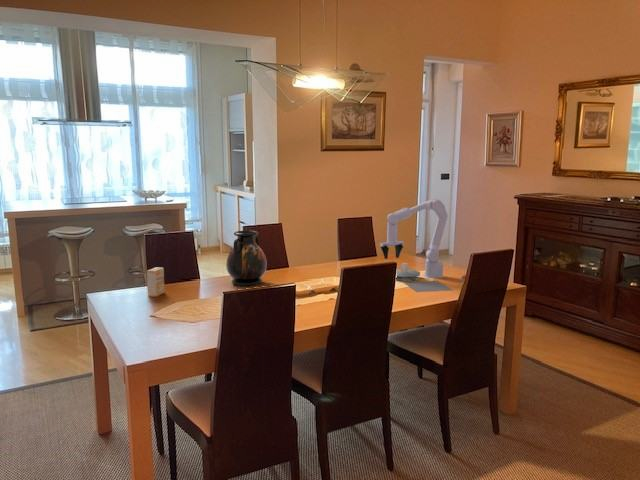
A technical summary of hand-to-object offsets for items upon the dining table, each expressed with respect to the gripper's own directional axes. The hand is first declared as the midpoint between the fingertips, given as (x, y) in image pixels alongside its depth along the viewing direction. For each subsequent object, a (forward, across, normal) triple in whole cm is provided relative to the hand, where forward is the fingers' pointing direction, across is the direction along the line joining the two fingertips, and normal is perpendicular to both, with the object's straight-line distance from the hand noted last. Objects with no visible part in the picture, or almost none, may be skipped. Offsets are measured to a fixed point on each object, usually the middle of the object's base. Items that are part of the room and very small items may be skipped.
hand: (391, 258), depth 292 cm
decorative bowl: (+11, +3, -9) cm, 15 cm away
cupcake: (+11, +23, -39) cm, 46 cm away
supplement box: (+11, -127, +15) cm, 129 cm away
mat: (+10, +4, -29) cm, 31 cm away
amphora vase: (+11, -80, +18) cm, 83 cm away
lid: (+7, +3, -9) cm, 12 cm away
